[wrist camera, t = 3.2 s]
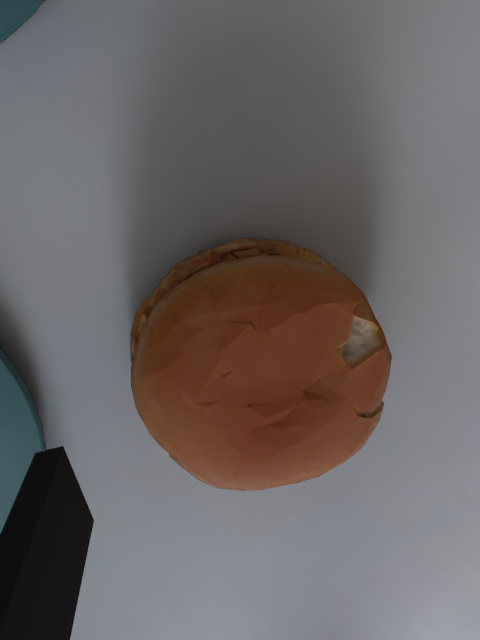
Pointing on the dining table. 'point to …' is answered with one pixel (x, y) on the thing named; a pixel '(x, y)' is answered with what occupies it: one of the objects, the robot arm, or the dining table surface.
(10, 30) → the pot
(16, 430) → the lid
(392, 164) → the dining table surface
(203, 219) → the dining table surface
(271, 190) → the dining table surface
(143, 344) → the burger
